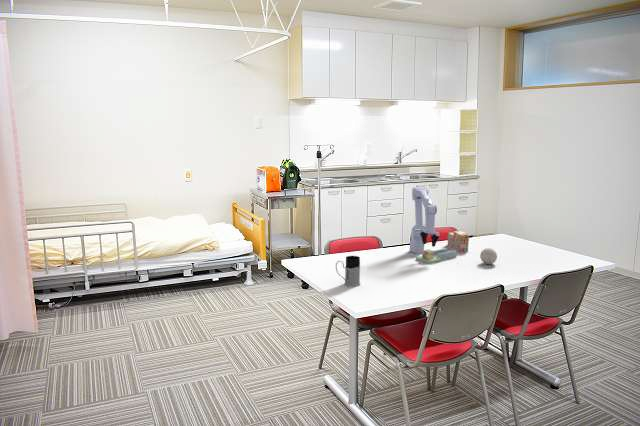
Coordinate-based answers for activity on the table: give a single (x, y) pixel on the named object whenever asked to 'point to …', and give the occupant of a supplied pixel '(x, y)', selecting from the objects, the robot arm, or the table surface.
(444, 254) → the pale green block
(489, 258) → the eye model
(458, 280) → the table surface
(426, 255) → the maple block
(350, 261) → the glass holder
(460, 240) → the stack of blocks
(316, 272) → the table surface
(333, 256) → the table surface
